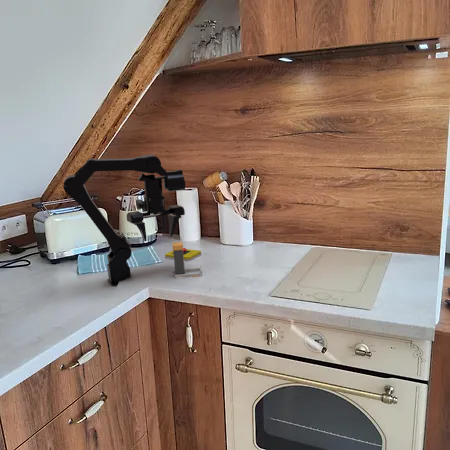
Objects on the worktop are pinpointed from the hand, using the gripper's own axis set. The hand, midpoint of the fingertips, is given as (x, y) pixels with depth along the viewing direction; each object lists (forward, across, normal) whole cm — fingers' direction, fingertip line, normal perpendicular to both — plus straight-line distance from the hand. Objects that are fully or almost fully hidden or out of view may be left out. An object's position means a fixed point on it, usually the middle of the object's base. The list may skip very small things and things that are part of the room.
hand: (158, 238), depth 157 cm
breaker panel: (+13, -6, +8) cm, 16 cm away
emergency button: (+14, -13, -11) cm, 22 cm away
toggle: (+12, -4, +7) cm, 14 cm away
